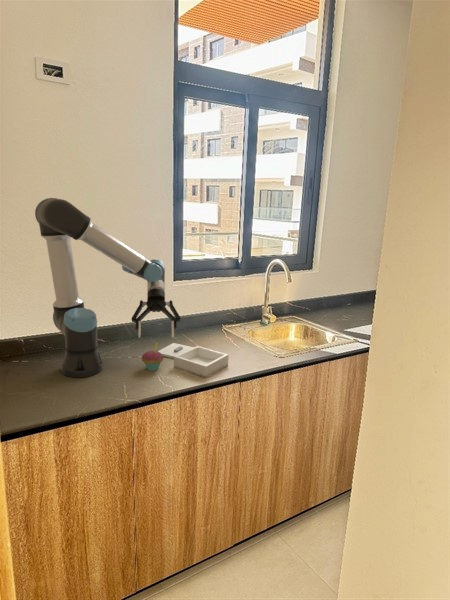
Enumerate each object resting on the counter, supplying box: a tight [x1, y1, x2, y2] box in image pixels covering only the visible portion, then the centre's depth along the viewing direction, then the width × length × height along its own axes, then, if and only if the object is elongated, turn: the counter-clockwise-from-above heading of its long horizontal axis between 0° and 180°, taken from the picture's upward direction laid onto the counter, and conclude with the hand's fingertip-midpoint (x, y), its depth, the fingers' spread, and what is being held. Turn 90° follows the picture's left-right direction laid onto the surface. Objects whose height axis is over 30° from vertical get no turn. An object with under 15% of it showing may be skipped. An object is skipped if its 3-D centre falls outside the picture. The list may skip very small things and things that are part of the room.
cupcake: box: [141, 341, 165, 371], centre depth 164 cm, size 9×8×12 cm
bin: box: [173, 345, 229, 379], centre depth 169 cm, size 16×16×5 cm
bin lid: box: [158, 342, 195, 359], centre depth 183 cm, size 14×14×2 cm
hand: (156, 336), depth 169 cm, fingers open, 13 cm apart
